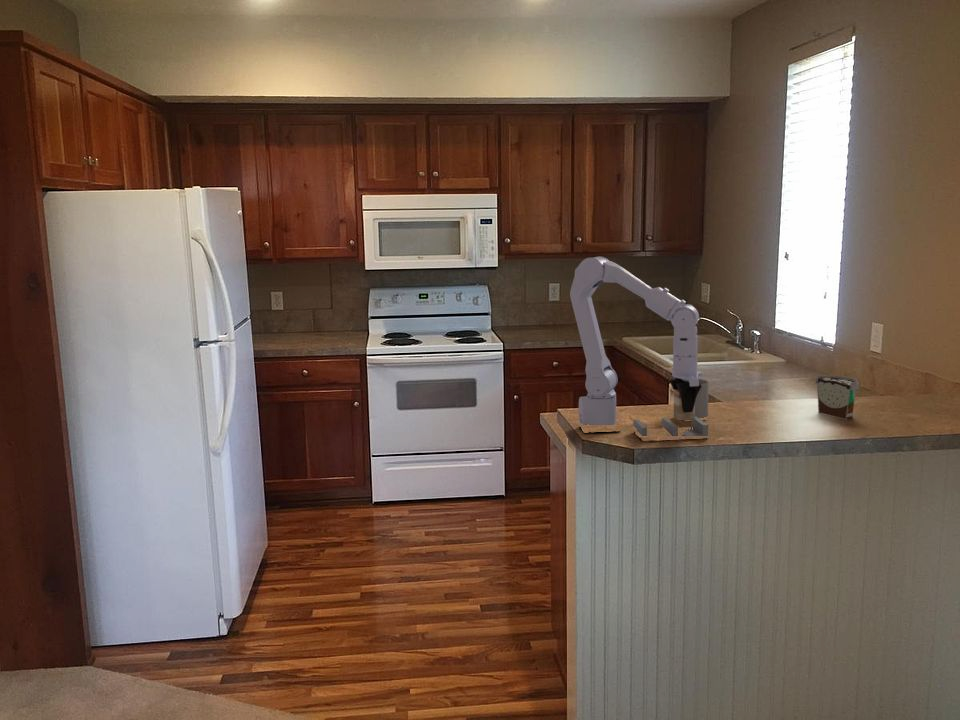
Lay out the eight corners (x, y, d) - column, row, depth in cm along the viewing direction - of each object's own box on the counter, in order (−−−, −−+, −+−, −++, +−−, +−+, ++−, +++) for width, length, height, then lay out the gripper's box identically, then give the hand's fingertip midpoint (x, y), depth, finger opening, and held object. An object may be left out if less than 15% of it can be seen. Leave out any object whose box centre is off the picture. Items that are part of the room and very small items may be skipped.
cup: (681, 413, 214) (681, 377, 213) (711, 416, 210) (711, 379, 208) (671, 420, 207) (672, 383, 205) (702, 423, 203) (703, 385, 201)
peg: (678, 420, 189) (678, 392, 187) (673, 416, 193) (673, 388, 191) (695, 419, 189) (695, 391, 188) (689, 415, 193) (689, 388, 192)
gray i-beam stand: (642, 442, 186) (642, 427, 186) (633, 432, 195) (633, 419, 195) (707, 439, 187) (708, 424, 187) (695, 429, 196) (695, 416, 195)
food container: (868, 418, 202) (870, 380, 200) (850, 421, 199) (852, 383, 198) (831, 409, 213) (832, 373, 211) (814, 411, 211) (815, 375, 209)
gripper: (711, 359, 181) (711, 415, 183) (691, 350, 196) (691, 402, 198) (682, 360, 181) (681, 417, 183) (664, 351, 195) (664, 404, 197)
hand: (684, 409), depth 190 cm, fingers closed on peg, 4 cm apart
